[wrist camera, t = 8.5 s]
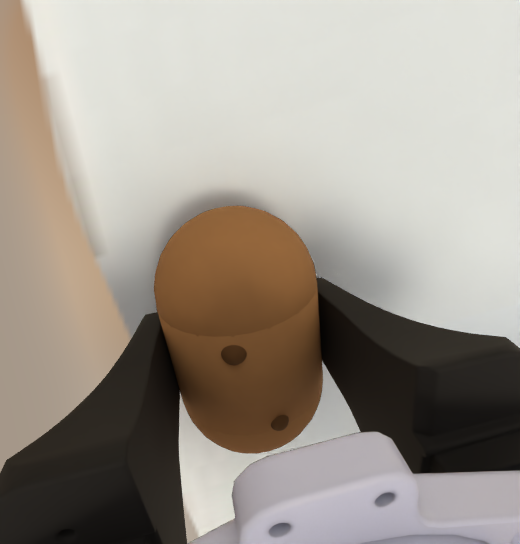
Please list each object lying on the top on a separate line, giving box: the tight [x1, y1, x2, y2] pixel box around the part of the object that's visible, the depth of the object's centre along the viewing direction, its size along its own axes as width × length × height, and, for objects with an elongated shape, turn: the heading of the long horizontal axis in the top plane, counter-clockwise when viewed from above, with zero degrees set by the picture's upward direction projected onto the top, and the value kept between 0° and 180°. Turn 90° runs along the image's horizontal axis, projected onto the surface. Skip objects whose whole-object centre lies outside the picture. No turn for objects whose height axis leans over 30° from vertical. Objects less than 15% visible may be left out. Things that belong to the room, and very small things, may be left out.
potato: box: [154, 206, 323, 453], centre depth 13 cm, size 8×5×5 cm, turn 7°
